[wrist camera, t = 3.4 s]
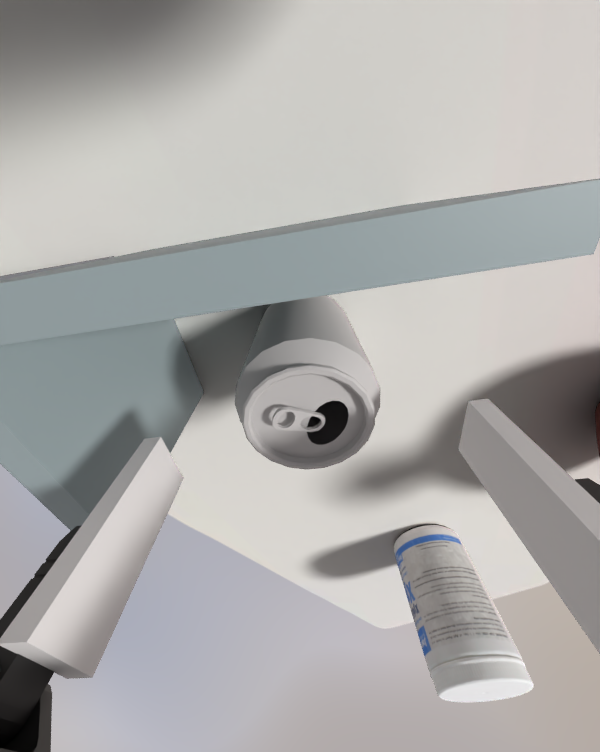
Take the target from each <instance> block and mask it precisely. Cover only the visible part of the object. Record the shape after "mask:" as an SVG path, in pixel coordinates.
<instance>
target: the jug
mask: <svg viewBox="0 0 600 752" xmlns="http://www.w3.org/2000/svg"><path fill="white" fill-rule="evenodd" d="M595 419H596V435H597V444H598V449H599V455H600V402H599V404H598V405H597V408H596V412H595Z"/></svg>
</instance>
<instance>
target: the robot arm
mask: <svg viewBox="0 0 600 752" xmlns="http://www.w3.org/2000/svg"><path fill="white" fill-rule="evenodd" d="M458 450H459V452H460V453H461V454H462V456H463V457H464V459H465V460H466V462H467V463H468V465H469V466H470V467H471V469H472V470H473V472H474V473H475V475H476V476H477V478H478V479H479V480H480V482H481V483H482V485H483V486H484V488H485V489H486V491H487V492H488V493H489V495H490V496H491V498H492V499H493V501H494V502H495V504H496V505H497V506H498V508H499V509H500V511H501V512H502V514H503V515H504V516H505V518H506V519H507V521H508V522H509V524H510V525H511V527H512V528H513V529H514V531H515V532H516V534H517V535H518V537H519V538H520V540H521V541H522V542H523V544H524V545H525V547H526V548H527V550H528V551H529V553H530V554H531V555H532V557H533V558H534V560H535V561H536V563H537V564H538V566H539V567H540V568H541V570H542V571H543V573H544V574H545V576H546V577H547V579H548V580H549V581H550V583H551V584H552V586H553V587H554V588H555V590H556V592H557V593H558V594H559V596H560V597H561V599H562V600H563V602H564V603H565V604H566V606H567V607H568V609H569V610H570V612H571V613H572V615H573V616H574V617H575V619H576V620H577V622H578V623H579V624H580V626H581V627H582V629H583V630H584V632H585V633H586V635H587V636H588V638H589V639H590V641H591V642H592V643H593V645H594V646H595V648H596V649H597V651H598V652H599V654H600V485H599V484H597V483H595V482H594V481H592V480H590V479H588V478H586V479H575V480H574V479H573V478H572V477H571V476H570V475H569V474H568V473H567V472H566V471H564V470H563V469H562V468H561V467H560V466H559V465H558V464H557V463H556V462H555V461H554V460H553V459H552V458H551V457H550V456H548V455H547V454H546V453H545V452H544V451H543V450H542V449H541V448H540V447H539V446H538V445H537V444H536V443H535V442H534V441H533V440H531V439H530V438H529V437H528V436H527V435H526V434H525V433H524V432H523V431H522V430H521V429H520V428H519V427H518V426H517V425H516V424H514V423H513V422H512V421H511V420H510V419H509V418H508V417H507V416H506V415H505V414H504V413H503V412H502V411H501V410H500V409H499V408H497V407H496V406H495V405H494V404H493V403H492V402H491V401H490V400H489V399H480V400H471V401H468V404H467V409H466V414H465V419H464V424H463V429H462V434H461V439H460V443H459V448H458ZM183 479H184V478H183V476H182V474H181V472H180V470H179V469H178V467H177V465H176V463H175V461H174V459H173V458H172V456H171V454H170V452H169V450H168V449H167V447H166V445H165V443H164V441H163V440H162V438H161V437H155V438H146V439H144V440H143V442H142V443H141V444H140V446H139V447H138V449H137V450H136V451H135V453H134V454H133V455H132V457H131V458H130V460H129V461H128V462H127V464H126V465H125V466H124V468H123V469H122V471H121V472H120V473H119V475H118V476H117V478H116V479H115V480H114V482H113V483H112V484H111V486H110V487H109V489H108V490H107V491H106V493H105V494H104V495H103V497H102V498H101V500H100V501H99V502H98V504H97V505H96V507H95V508H94V509H93V511H92V512H91V513H90V515H89V516H88V518H87V519H86V520H85V522H84V523H83V525H82V526H76V527H75V528H74V529H73V530H72V531H70V533H68V534H67V535H66V536H65V537H64V538H63V539H62V540H61V541H60V542H59V543H58V544H57V546H56V547H55V548H54V550H53V551H52V552H51V554H50V555H49V556H48V558H47V559H46V562H45V563H43V564H42V565H41V567H40V568H39V570H38V571H37V572H36V573H35V577H34V578H33V579H31V580H30V581H29V583H28V584H27V585H26V587H25V588H24V589H23V591H22V592H21V593H20V595H19V596H18V597H17V599H16V600H15V601H14V602H13V604H12V605H11V606H10V608H9V609H8V610H7V612H6V613H5V614H4V616H3V617H2V618H1V620H0V752H50V750H51V749H50V748H51V746H50V745H51V711H52V710H51V709H52V692H51V687H50V685H48V682H49V681H50V678H51V677H52V675H53V673H54V672H55V673H57V674H59V675H61V676H63V677H65V678H67V679H69V678H89V677H90V678H91V677H93V675H94V673H95V670H96V668H97V666H98V664H99V662H100V660H101V658H102V655H103V653H104V651H105V649H106V647H107V644H108V642H109V640H110V638H111V636H112V634H113V631H114V629H115V627H116V625H117V622H118V620H119V618H120V616H121V614H122V612H123V609H124V607H125V605H126V603H127V601H128V598H129V596H130V594H131V592H132V590H133V588H134V586H135V583H136V581H137V579H138V577H139V575H140V572H141V570H142V568H143V566H144V564H145V561H146V559H147V557H148V555H149V553H150V551H151V548H152V546H153V544H154V542H155V540H156V537H157V535H158V533H159V531H160V529H161V527H162V524H163V522H164V520H165V518H166V516H167V514H168V511H169V509H170V507H171V505H172V503H173V501H174V498H175V496H176V494H177V492H178V490H179V487H180V485H181V483H182V481H183Z"/></svg>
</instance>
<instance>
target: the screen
mask: <svg viewBox="0 0 600 752" xmlns="http://www.w3.org/2000/svg"><path fill="white" fill-rule="evenodd" d="M599 238H600V179H593V180H586V181H578V182H571V183H564V184H556V185H549V186H542V187H534V188H527V189H520V190H512V191H505V192H498V193H490V194H483V195H475V196H468V197H461V198H453V199H446V200H439V201H431V202H424V203H417V204H409V205H403V206H397V207H391V208H386V209H380V210H374V211H368V212H363V213H357V214H351V215H346V216H340V217H334V218H329V219H323V220H317V221H311V222H306V223H300V224H294V225H289V226H283V227H277V228H272V229H266V230H260V231H255V232H249V233H243V234H237V235H232V236H226V237H220V238H215V239H209V240H203V241H198V242H192V243H186V244H180V245H175V246H169V247H163V248H158V249H152V250H147V251H142V252H137V253H132V254H128V255H123V256H118V257H113V258H108V259H103V260H98V261H93V262H88V263H83V264H79V265H74V266H69V267H64V268H59V269H54V270H49V271H44V272H39V273H34V274H30V275H25V276H20V277H15V278H10V279H5V280H0V464H1V465H2V466H3V467H4V468H5V469H6V470H7V471H9V472H10V473H11V474H12V475H13V476H14V477H15V478H16V479H17V480H18V481H19V482H20V483H21V484H22V485H23V486H24V487H25V488H27V490H29V491H30V492H31V493H32V494H33V495H34V496H35V497H36V498H37V499H38V500H39V501H40V502H41V503H42V504H43V505H44V506H45V507H47V508H48V509H49V510H50V511H51V512H52V513H53V514H54V515H55V516H56V517H57V518H58V519H59V520H60V521H61V522H62V523H63V524H64V525H65V526H67V527H68V528H69V529H70V530H71V531H72V530H73V529H74V528H75V527H76V526H82V525H83V523H84V522H85V520H86V519H87V518H88V516H89V515H90V513H91V512H92V511H93V509H94V508H95V507H96V505H97V504H98V502H99V501H100V500H101V498H102V497H103V495H104V494H105V493H106V491H107V490H108V489H109V487H110V486H111V484H112V483H113V482H114V480H115V479H116V478H117V476H118V475H119V473H120V472H121V471H122V469H123V468H124V466H125V465H126V464H127V462H128V461H129V460H130V458H131V457H132V455H133V454H134V453H135V451H136V450H137V449H138V447H139V446H140V444H141V443H142V442H143V440H144V439H146V438H155V437H161V438H162V440H163V441H164V443H165V445H166V447H167V449H168V450H169V452H170V453H171V451H172V449H173V447H174V445H175V444H176V442H177V440H178V438H179V436H180V435H181V433H182V431H183V429H184V427H185V425H186V424H187V422H188V420H189V418H190V416H191V415H192V413H193V411H194V409H195V407H196V406H197V404H198V402H199V400H200V398H201V397H202V395H203V393H204V392H203V389H202V387H201V384H200V382H199V379H198V377H197V374H196V372H195V369H194V367H193V365H192V362H191V360H190V357H189V355H188V352H187V350H186V347H185V345H184V342H183V340H182V338H181V335H180V333H179V330H178V328H177V325H176V323H175V320H174V319H175V318H182V317H188V316H195V315H201V314H208V313H214V312H221V311H227V310H234V309H240V308H247V307H253V306H260V305H266V304H273V303H279V302H286V301H292V300H299V299H305V298H312V297H318V296H325V295H331V294H338V293H344V292H351V291H357V290H364V289H370V288H377V287H383V286H390V285H396V284H403V283H409V282H416V281H422V280H429V279H435V278H442V277H448V276H455V275H461V274H468V273H474V272H481V271H487V270H494V269H500V268H507V267H513V266H520V265H526V264H533V263H539V262H546V261H552V260H559V259H565V258H572V257H578V256H585V255H591V254H594V251H595V249H596V246H597V243H598V241H599Z"/></svg>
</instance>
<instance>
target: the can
mask: <svg viewBox="0 0 600 752" xmlns="http://www.w3.org/2000/svg"><path fill="white" fill-rule="evenodd" d="M235 406H236V409H237V412H238V415H239V418H240V421H241V423H242V425H243V428H244V431H245V434H246V437H247V439H248V440H249V442H250V443H251V444H252V445H253V447H254V448H255V449H256V451H258V452H259V453H260V454H262V455H263V456H265V457H266V458H268V459H269V460H271V461H273V462H276V463H278V464H281V465H284V466H287V467H291V468H299V469H315V468H325V467H328V466H331V465H334V464H337V463H340V462H342V461H344V460H346V459H347V458H349V457H351V456H352V455H354V454H355V453H357V452H358V451H359V450H360V449H361V447H362V446H363V445H364V444H365V443H366V442H367V441H368V439H369V437H370V435H371V432H372V430H373V428H374V425H375V417H376V415H377V412H378V410H379V408H380V386H379V384H378V381H377V378H376V376H375V373H374V371H373V368H372V366H371V364H370V362H369V360H368V358H367V356H366V354H365V352H364V350H363V348H362V346H361V344H360V342H359V340H358V338H357V336H356V334H355V332H354V330H353V328H352V326H351V324H350V321H349V319H348V317H347V315H346V313H345V311H344V310H343V309H342V308H341V307H340V305H339V304H338V303H337V302H336V301H335V300H334V299H332V298H330V297H329V296H327V295H325V296H318V297H312V298H305V299H299V300H292V301H286V302H279V303H273V304H271V305H270V306H269V307H268V308H267V309H266V311H265V313H264V316H263V318H262V320H261V322H260V324H259V327H258V330H257V332H256V335H255V338H254V340H253V343H252V345H251V348H250V351H249V353H248V356H247V359H246V361H245V364H244V366H243V369H242V372H241V374H240V377H239V380H238V382H237V385H236V397H235Z"/></svg>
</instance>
